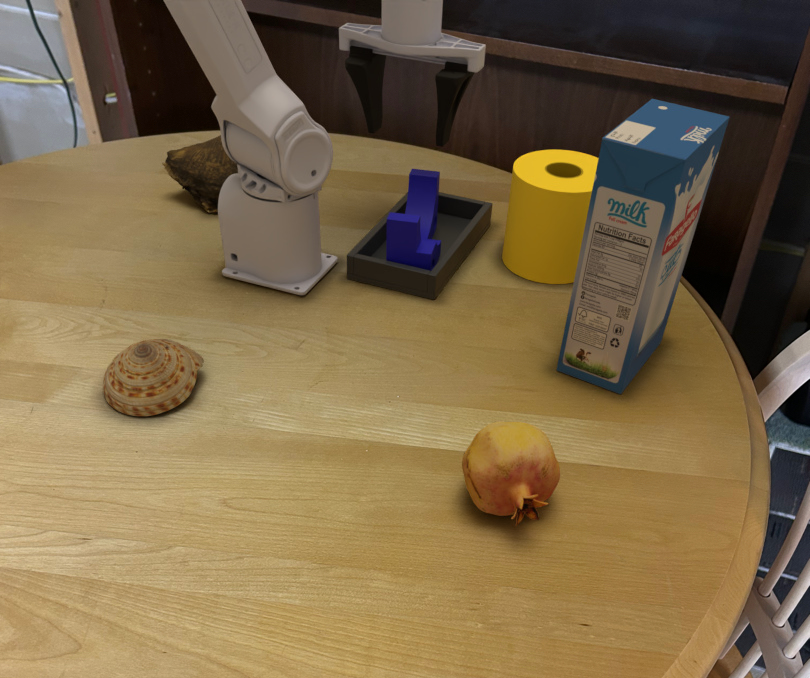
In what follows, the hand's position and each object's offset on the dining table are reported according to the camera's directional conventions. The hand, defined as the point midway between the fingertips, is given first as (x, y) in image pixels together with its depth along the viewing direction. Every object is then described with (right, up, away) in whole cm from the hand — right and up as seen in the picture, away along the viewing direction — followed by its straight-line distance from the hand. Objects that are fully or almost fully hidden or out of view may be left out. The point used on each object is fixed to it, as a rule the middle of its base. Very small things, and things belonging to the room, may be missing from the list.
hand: (408, 136), depth 84 cm
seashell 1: (-22, -29, -14) cm, 39 cm away
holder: (+2, -11, +3) cm, 11 cm away
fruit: (+7, -39, -23) cm, 46 cm away
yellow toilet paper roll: (+15, -12, +2) cm, 20 cm away
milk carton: (+19, -25, -10) cm, 33 cm away
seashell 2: (-19, -2, +11) cm, 22 cm away
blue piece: (+1, -12, +2) cm, 12 cm away
